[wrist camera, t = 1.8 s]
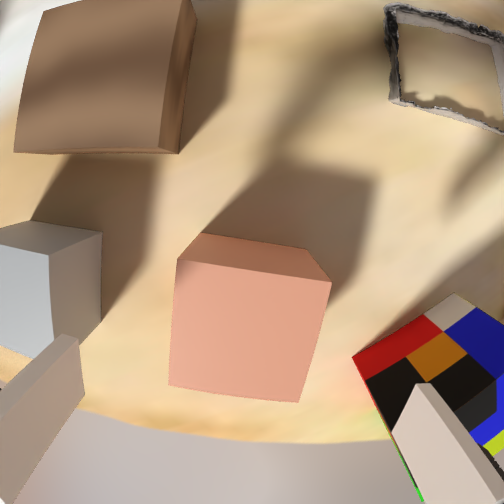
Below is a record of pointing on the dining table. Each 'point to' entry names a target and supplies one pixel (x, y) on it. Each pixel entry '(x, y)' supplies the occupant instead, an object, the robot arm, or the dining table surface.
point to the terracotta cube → (245, 318)
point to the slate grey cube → (48, 284)
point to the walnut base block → (107, 78)
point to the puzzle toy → (442, 369)
